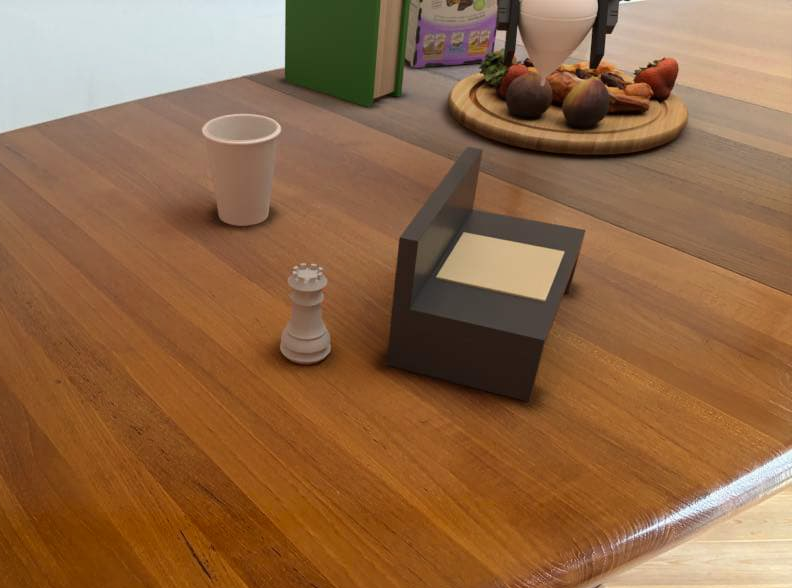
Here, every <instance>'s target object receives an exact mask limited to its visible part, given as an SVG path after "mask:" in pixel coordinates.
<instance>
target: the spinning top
mask: <svg viewBox="0 0 792 588" xmlns="http://www.w3.org/2000/svg"><path fill="white" fill-rule="evenodd" d="M597 11H598V2H597V0H520V5H519V16H518V27H517V29H518V32H519V35H520V38H521V42H522V43H523V46H524V49H525V50H526V53H527V55H528V58H529V59H531V61H532V63H533V65H534V67H535V69H536V70H537V72H538V73H539V75H540V76H542V80H541V86H544V84H545V78H546V77H547V76H549V75H550V74H552V73H553V72H554V71H555V70H556V69H557V68H558V67H559V66H560V65H561V64H564V63H565V62H566V61H567V60H568V58H569V57H570V56H571V55H572V54H573V53H574V52H575V51H576V50H577V49H578V48H579V47H580V45H581V44H582V43H583V42H584V40H585V39H586V37H587V36H588V34H589V33H590V31H592V27H593V25H594V23H595V20H596V16H597V13H598V12H597Z"/></svg>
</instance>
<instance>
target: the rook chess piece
mask: <svg viewBox="0 0 792 588" xmlns="http://www.w3.org/2000/svg"><path fill="white" fill-rule="evenodd" d="M287 283H288V285H289V287H290V288H291V289H292V292H291V293H290V296H289V299H290V301H291V303H292V304H291V306H292V307H291V312H290V317H289V321H288V322H287V323H286V326H285V328H284V329H283V330H282V332H281V336H280V345H279V350H280V352H281V353H282V355H283V356H284V357H285V358H286V359H287V360H288V361H290V362H293V363H295V364H299V365H312V364H318V363H319V362H321V361H323V360H325V358H326V357H327V356H328V355H329V354H330V352H332V351H331V350H332V349H331V348H332V345H331V334H330V332H329V330H328V329H327V326H326V324H325V323H324V320H323V312H322V302H323V301H324V299H325V295H324V293H323V292H322V291H323V289H324V288H325V287H326V286H327V285H328V279H327V277H326V276H325V275H324V269H323V267H322V266H319V267H318V264H316V263H311V264H310V267H307V263H306V262H304V263H299V266H297V265H295V266H294V267H292V273H291V275H289V276H288V278H287Z"/></svg>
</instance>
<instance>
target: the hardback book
mask: <svg viewBox="0 0 792 588" xmlns="http://www.w3.org/2000/svg"><path fill="white" fill-rule="evenodd" d="M284 3H285V4H284V5H285V9H284V27H285V28H284V30H285V31H284V81H285V82H288V83H291V84H294V85H297V86H301V87H302V88H306V89H309V90H313V91H316V92H319V93H322V94H326V95H328V96H332V97H335V98H338V99H340V100H341V99H342V100H345V101H348V102H351V103H354V104H357V105H360V106H364V107H367V108H370V107H373V106H374V99H377V98H380V97H382V96H386V95H390V96H393V97H400V96H402V93H403V83H404V71H405V63H406V61H405V52H406V41H407V31H408V20H409V10H410V0H284Z"/></svg>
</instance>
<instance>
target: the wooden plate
mask: <svg viewBox="0 0 792 588" xmlns="http://www.w3.org/2000/svg"><path fill="white" fill-rule="evenodd" d="M504 50H505V48H501V49H500V50H496V51H494V52H492V53H491V52H489V53H487V54H486V55H485V58H486V59H485V61H483V62H482V63H480V66H479V67H478V69H480V71H479V72H477V73H474V74H471V75H469V76H467V77H465V78H463V79H461V80H460V81H458V82H457V83H456V84H454V86H453V87H452V88H451V90H450V92H449V94H448V101H447V102H448V105H447V106H448V109H449V111H450V113H451V114H452V116H453V118H454V119H455V120H456V121H457V122H458V123H460V124H461V125H462V126H464V127H465V128H467V129H468V130H470V131H472V132H474V133H476V134H478V135H480V136H482V137H485V138H487V139H490V140H493V141H496V142H499V143H502V144H506V145H510V146H515V147H518V148H523V149H529V150H534V151H541V152H547V153H548V152H549V153H554V154H555V153H557V154H571V155H587V156H588V155H589V156H590V155H592V156H595V155H597V156H598V155H599V156H600V155H601V156H602V155H603V156H604V155H618V154H629V153H637V152H642V151H646V150H650V149H653V148H656V147H659V146H662V145H664V144H667V143H669V142H671V141H672V140H675V139H676V138H677V137H678V136H680V135H681V134H682V133H683V132H684V130H685V129H686V127H687V125H688V122H689V111H688V108H687V106H686V104H685V103H684V102H683V101H682V99H681V98H679V96H677V95H675V94H674V93H672V91H673V89H674V87H675V84H676V81H677V78H678V76H679V71H680V68H679V63H678V62H677V61H678V60H676V59H675V58H672V57H666V56H664V57H663V58H661V59H655V60H653V62H652V63H651V62H648V64H646V67H640V66H638V68H639V69H634V72H633V73H632V74H633V75H634V76H633V77H632V76H630V75H626V74H625V73H624V72H623V71H621V69H618V67H617V66H616V65H615V64H614V63H611V62H608V61H604V60H601V62H600V64H599V66H598V68H597V69H589V62H590V61H577V62H575V63H574V64H564V63H562V64H561V65H560V66H559V67H558V68H557V69H556V70H555V71H554V72H553V73H552V74H550V75H549V76H547V77H546V78H545V84H544V86H541V80H542V76H540V75H539V73H538V72H537V70H536V69H535V67H534V65H533V63H532V61H531V59H530V57H526V58H525V59H524V60H519V61H518V60H517V57H516V55H515V54H514V57H513V60H512V63H511V66H503V61H504ZM522 62H523V63H522Z"/></svg>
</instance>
